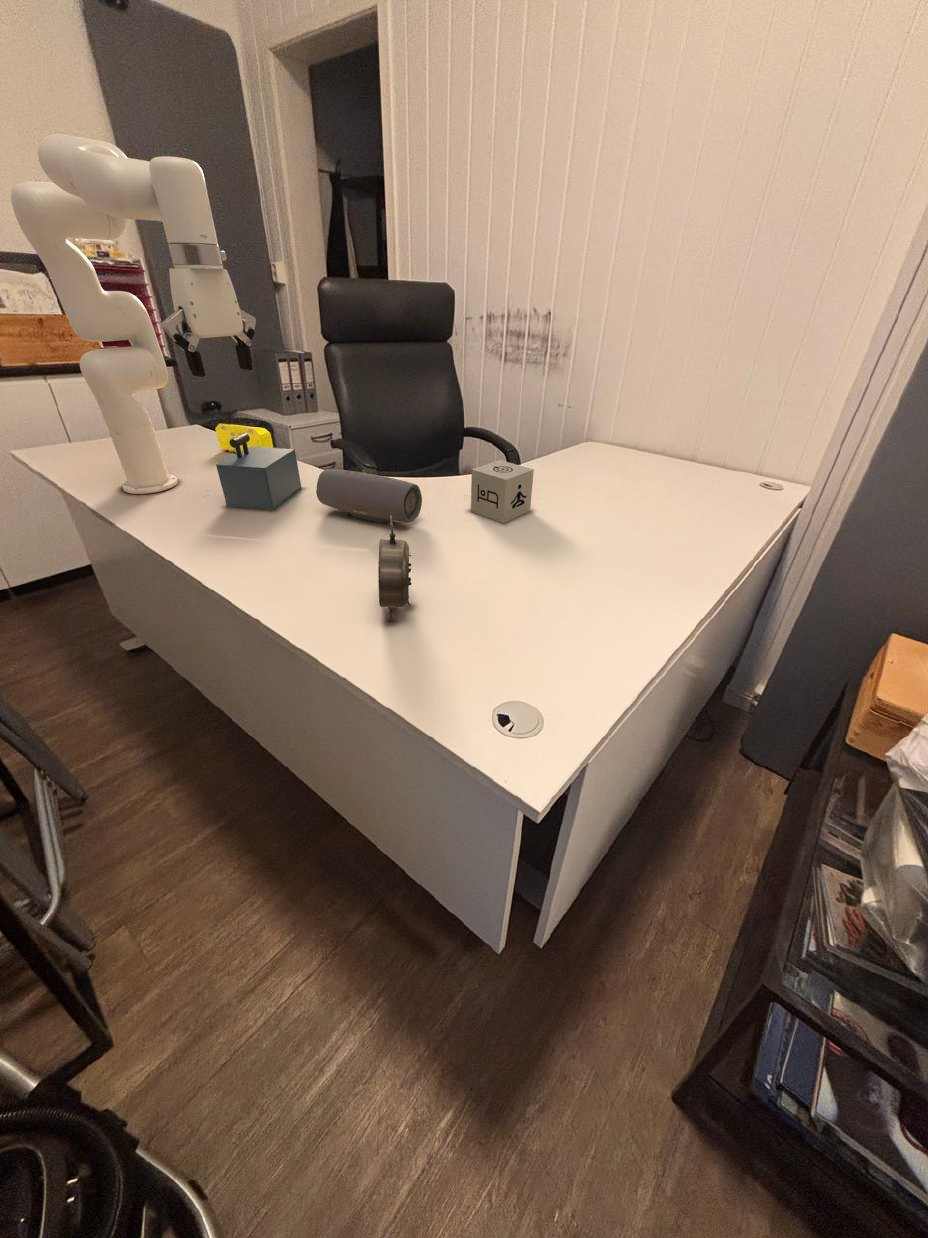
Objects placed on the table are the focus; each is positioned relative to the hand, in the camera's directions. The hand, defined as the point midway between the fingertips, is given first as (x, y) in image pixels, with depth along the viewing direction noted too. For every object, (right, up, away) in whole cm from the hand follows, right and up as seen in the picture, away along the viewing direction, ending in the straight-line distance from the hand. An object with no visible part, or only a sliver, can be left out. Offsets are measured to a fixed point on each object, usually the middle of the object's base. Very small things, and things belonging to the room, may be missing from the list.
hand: (223, 372), depth 93 cm
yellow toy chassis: (-23, +6, +64) cm, 68 cm away
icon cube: (+53, -20, +27) cm, 63 cm away
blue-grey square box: (-5, -15, +32) cm, 36 cm away
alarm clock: (+33, -44, -8) cm, 55 cm away
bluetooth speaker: (+23, -22, +23) cm, 40 cm away
